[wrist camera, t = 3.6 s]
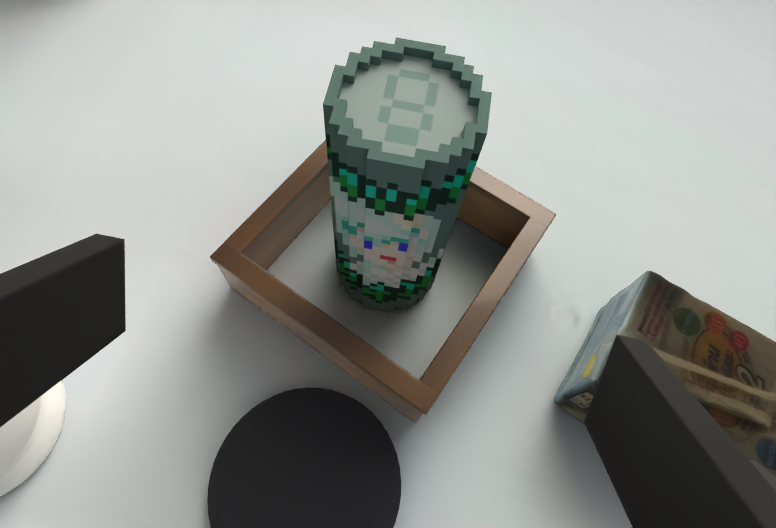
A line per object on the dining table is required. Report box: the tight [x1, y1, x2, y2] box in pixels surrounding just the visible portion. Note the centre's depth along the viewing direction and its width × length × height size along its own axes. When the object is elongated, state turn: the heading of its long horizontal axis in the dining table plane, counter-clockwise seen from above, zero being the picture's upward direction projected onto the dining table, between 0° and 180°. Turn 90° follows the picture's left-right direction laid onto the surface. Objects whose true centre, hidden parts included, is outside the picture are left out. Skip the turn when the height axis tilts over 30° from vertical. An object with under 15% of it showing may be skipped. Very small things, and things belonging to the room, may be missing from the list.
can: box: [323, 38, 492, 313], centre depth 25 cm, size 6×6×15 cm
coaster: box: [208, 388, 401, 528], centre depth 26 cm, size 10×10×1 cm
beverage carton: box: [554, 271, 776, 477], centre depth 25 cm, size 8×19×7 cm, turn 55°
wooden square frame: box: [210, 140, 556, 423], centre depth 30 cm, size 14×14×4 cm
